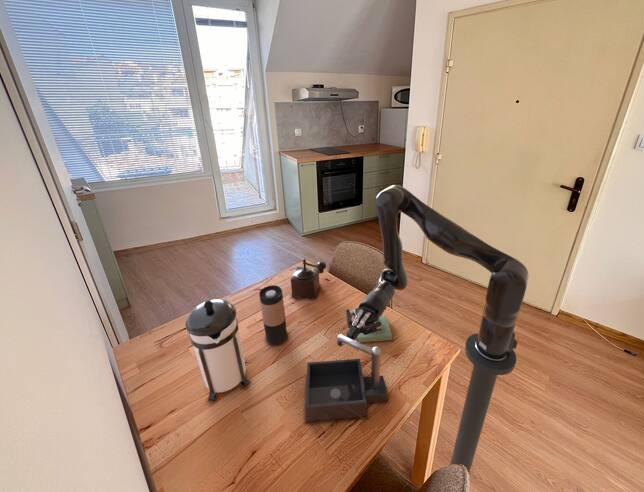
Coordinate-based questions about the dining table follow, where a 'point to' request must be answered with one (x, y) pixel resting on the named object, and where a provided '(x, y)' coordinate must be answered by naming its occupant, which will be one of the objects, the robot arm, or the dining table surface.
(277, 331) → the travel mug
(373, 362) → the faucet
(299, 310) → the dining table surface
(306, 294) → the manual coffee grinder
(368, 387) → the sink
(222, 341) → the coffee press
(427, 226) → the robot arm
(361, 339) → the switch block
